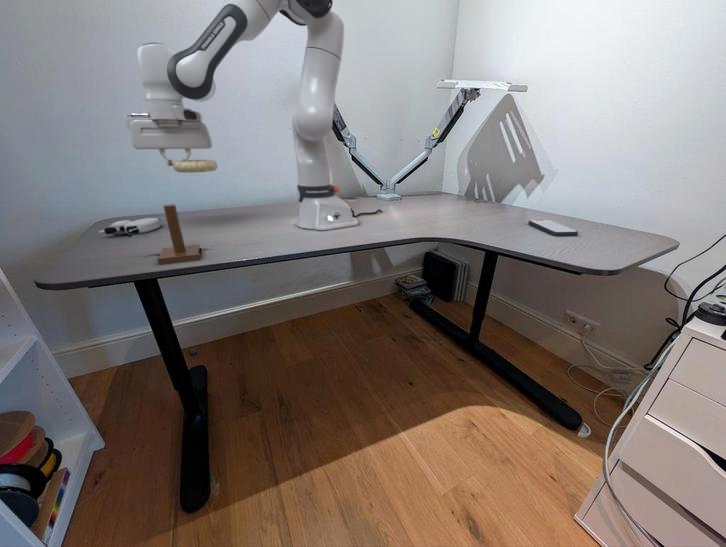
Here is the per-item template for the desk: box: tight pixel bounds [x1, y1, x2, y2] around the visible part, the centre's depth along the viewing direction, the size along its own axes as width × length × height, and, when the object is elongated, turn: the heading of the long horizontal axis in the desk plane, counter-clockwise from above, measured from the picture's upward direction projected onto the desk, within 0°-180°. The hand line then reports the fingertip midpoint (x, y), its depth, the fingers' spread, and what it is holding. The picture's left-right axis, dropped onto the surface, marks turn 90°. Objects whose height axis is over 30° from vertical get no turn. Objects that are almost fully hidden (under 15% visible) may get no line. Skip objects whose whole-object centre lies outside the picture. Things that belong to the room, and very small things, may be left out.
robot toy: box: [98, 217, 165, 236], centre depth 101 cm, size 12×4×15 cm
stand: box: [157, 203, 202, 265], centre depth 80 cm, size 9×9×14 cm
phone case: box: [527, 219, 579, 237], centre depth 110 cm, size 9×2×16 cm
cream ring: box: [172, 159, 218, 174], centre depth 95 cm, size 12×12×3 cm
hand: (179, 165), depth 93 cm, fingers closed on cream ring, 3 cm apart
